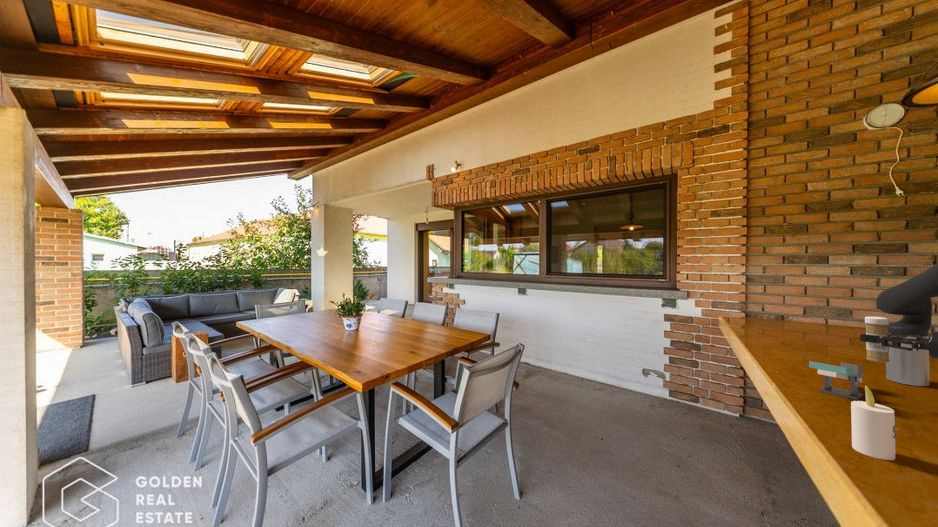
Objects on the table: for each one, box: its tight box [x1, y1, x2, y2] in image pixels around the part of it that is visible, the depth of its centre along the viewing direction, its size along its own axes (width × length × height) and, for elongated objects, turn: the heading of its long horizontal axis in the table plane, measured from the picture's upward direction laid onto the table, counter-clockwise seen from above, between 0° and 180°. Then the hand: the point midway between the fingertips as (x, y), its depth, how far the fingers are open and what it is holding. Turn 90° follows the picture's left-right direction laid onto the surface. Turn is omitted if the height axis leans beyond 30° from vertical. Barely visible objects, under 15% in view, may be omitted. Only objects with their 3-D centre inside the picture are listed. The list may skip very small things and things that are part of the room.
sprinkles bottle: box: [864, 316, 890, 364], centre depth 100 cm, size 5×5×13 cm
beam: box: [808, 360, 864, 383], centre depth 107 cm, size 26×8×6 cm, turn 118°
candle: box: [850, 385, 898, 461], centre depth 75 cm, size 6×6×15 cm
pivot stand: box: [819, 373, 864, 401], centre depth 107 cm, size 6×8×8 cm
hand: (863, 336), depth 102 cm, fingers closed on sprinkles bottle, 4 cm apart
